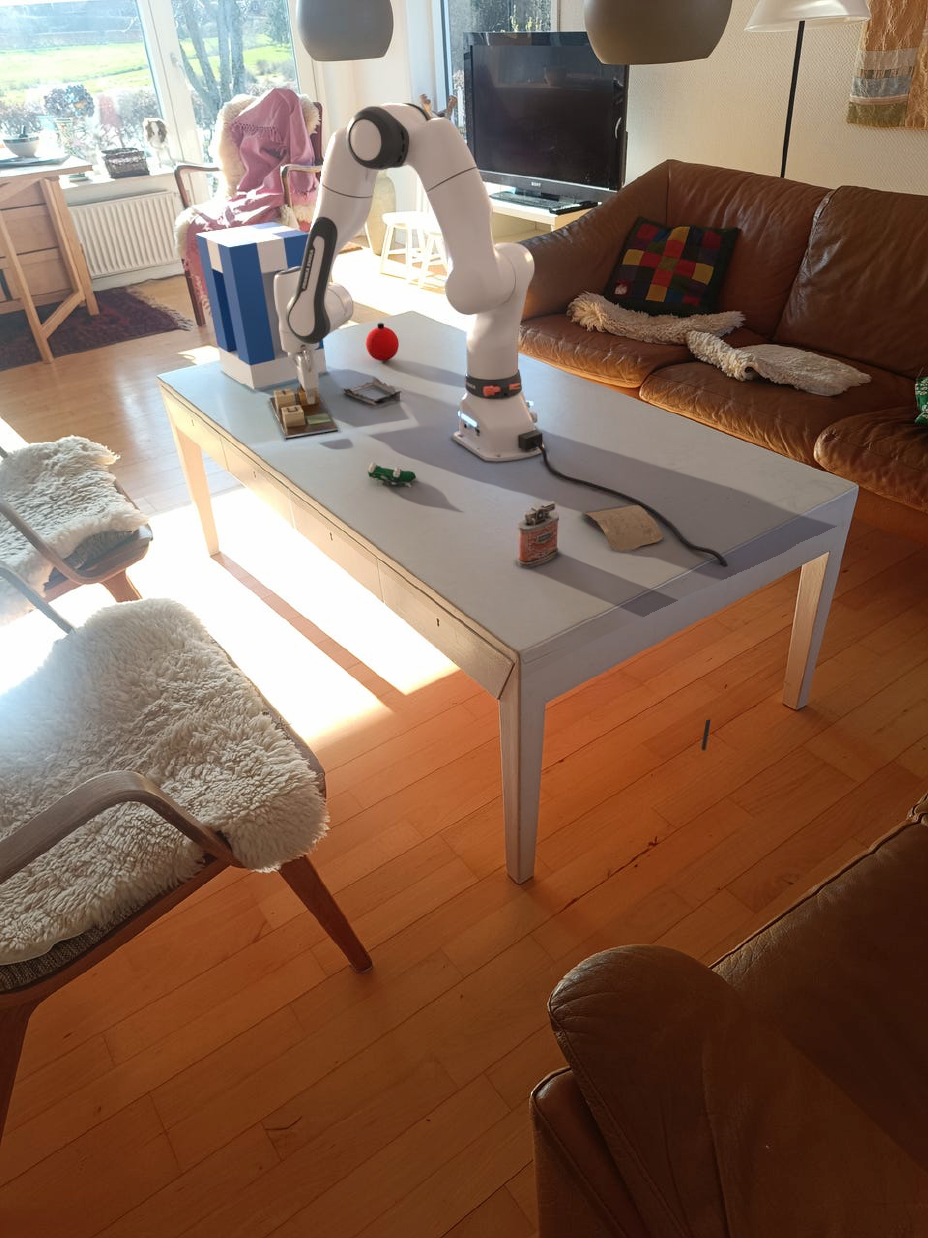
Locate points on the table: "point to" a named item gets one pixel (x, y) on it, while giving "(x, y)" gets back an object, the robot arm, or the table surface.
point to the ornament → (382, 343)
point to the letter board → (306, 413)
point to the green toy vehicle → (390, 474)
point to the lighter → (538, 535)
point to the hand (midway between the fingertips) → (307, 396)
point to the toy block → (251, 298)
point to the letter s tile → (302, 396)
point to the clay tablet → (627, 527)
